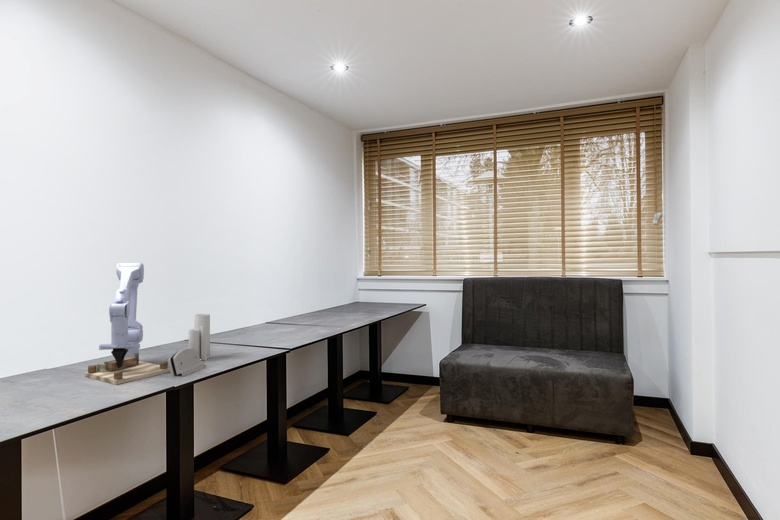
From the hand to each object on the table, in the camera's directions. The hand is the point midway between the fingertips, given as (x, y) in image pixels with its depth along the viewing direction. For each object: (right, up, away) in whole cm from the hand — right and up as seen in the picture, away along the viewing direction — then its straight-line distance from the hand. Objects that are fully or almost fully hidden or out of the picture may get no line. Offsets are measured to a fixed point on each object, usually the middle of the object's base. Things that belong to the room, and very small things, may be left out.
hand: (119, 367), depth 179 cm
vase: (+21, -3, +26) cm, 34 cm away
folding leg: (-2, -1, +4) cm, 4 cm away
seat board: (+3, -3, +1) cm, 4 cm away
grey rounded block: (+24, -3, +6) cm, 25 cm away
